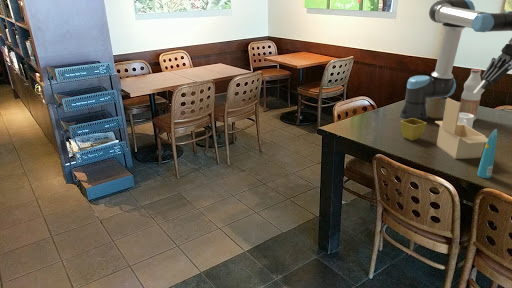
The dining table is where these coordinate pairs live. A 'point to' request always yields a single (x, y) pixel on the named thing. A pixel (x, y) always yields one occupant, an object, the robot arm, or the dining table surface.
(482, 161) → the tube
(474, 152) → the carton
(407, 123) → the flower pot
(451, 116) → the flap
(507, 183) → the dining table surface
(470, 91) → the fruit juice
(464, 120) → the mug
